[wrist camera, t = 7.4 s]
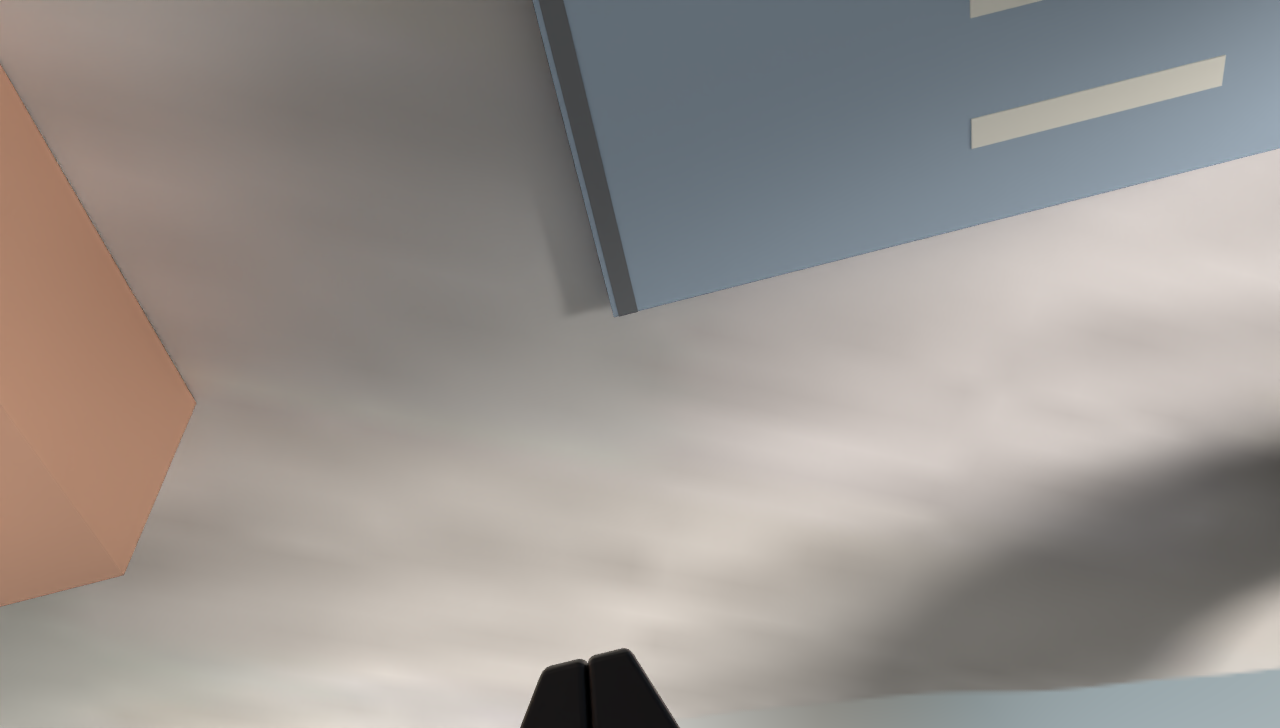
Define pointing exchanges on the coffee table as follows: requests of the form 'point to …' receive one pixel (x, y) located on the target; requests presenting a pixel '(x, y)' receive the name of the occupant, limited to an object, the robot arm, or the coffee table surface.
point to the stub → (71, 383)
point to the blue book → (881, 120)
